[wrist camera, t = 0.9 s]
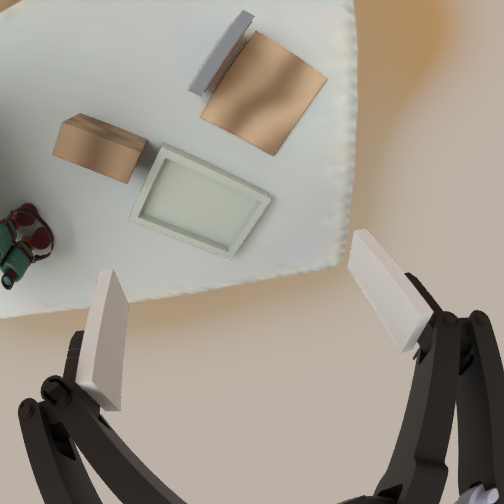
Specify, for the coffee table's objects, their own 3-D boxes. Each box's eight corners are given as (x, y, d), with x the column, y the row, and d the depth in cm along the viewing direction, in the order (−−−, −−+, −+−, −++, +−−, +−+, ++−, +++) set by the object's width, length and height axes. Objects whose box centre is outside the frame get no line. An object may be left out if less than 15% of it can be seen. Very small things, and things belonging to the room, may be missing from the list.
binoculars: (49, 276, 30) (6, 300, 29) (67, 234, 38) (26, 258, 38) (10, 220, 25) (-31, 253, 24) (38, 187, 33) (-2, 216, 32)
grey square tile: (189, 84, 30) (188, 90, 22) (229, 25, 26) (243, 9, 18) (199, 89, 30) (202, 96, 23) (238, 30, 27) (256, 17, 19)
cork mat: (199, 116, 32) (199, 117, 32) (255, 31, 27) (256, 30, 27) (272, 155, 37) (273, 156, 37) (325, 78, 32) (327, 78, 32)
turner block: (70, 141, 30) (52, 155, 25) (80, 113, 28) (62, 122, 24) (135, 166, 35) (126, 184, 30) (147, 139, 33) (140, 152, 28)
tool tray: (131, 212, 38) (128, 220, 36) (163, 142, 33) (161, 147, 32) (229, 251, 45) (230, 259, 44) (267, 192, 41) (271, 199, 39)
